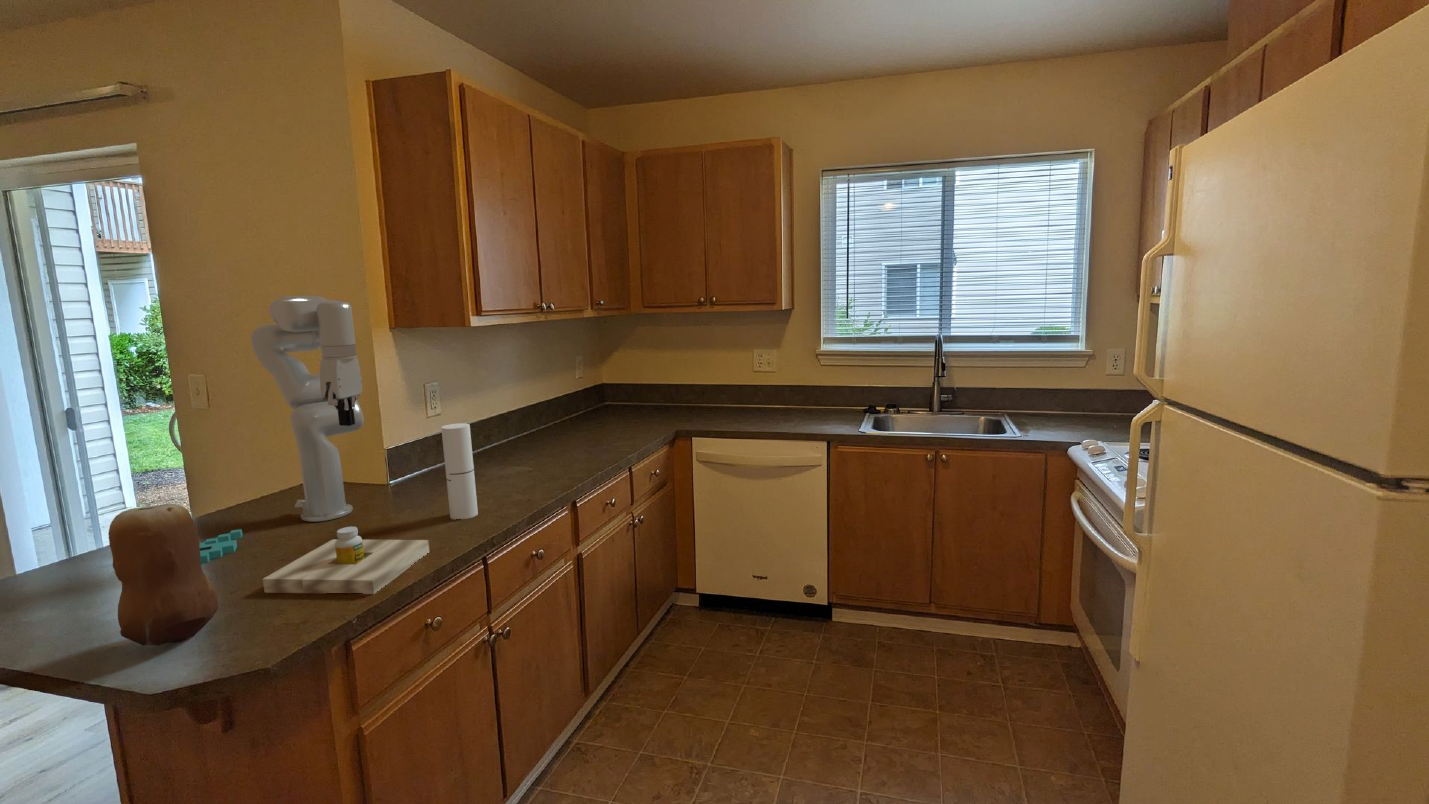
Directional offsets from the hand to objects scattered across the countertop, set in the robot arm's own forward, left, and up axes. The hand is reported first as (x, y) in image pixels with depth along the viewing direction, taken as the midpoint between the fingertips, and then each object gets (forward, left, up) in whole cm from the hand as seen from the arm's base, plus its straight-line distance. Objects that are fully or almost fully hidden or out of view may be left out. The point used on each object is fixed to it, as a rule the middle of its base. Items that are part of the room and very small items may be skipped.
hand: (347, 424), depth 168 cm
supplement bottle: (+13, -24, -29) cm, 39 cm away
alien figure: (-33, -17, -29) cm, 47 cm away
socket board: (+14, -24, -28) cm, 39 cm away
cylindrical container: (+22, +13, -29) cm, 38 cm away
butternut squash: (0, -54, -29) cm, 61 cm away
